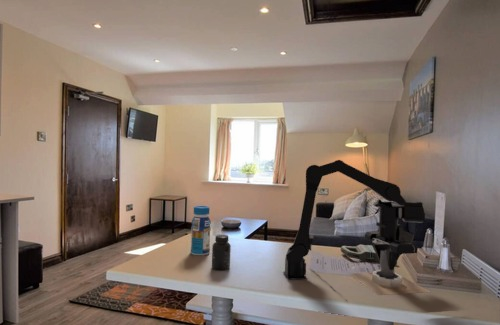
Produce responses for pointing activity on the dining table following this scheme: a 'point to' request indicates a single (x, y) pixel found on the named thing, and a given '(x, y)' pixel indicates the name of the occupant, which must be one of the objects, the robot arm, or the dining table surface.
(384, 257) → the grey rounded plug
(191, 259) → the dining table surface
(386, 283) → the aluminium collar
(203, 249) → the beverage bottle
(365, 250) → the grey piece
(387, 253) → the robot arm
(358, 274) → the tan square board
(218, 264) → the supplement bottle
